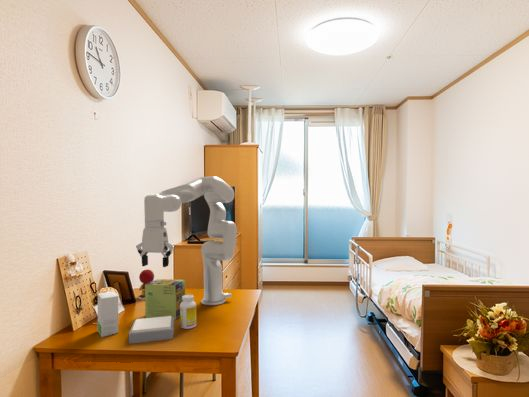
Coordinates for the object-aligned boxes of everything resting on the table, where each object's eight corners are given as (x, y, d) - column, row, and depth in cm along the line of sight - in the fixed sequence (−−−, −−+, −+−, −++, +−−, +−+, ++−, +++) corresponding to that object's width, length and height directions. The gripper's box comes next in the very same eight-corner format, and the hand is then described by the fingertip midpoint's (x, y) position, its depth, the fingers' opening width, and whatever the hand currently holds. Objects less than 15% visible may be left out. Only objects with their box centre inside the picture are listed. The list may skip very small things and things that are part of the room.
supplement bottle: (199, 324, 143) (198, 294, 142) (191, 330, 136) (190, 299, 136) (186, 322, 145) (185, 293, 145) (177, 328, 138) (176, 297, 138)
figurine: (158, 294, 187) (157, 268, 187) (148, 300, 177) (147, 272, 177) (144, 294, 189) (144, 267, 189) (134, 299, 179) (133, 271, 179)
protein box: (176, 320, 148) (175, 285, 148) (144, 318, 151) (144, 284, 151) (186, 312, 158) (185, 279, 158) (156, 310, 161) (156, 278, 161)
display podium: (174, 325, 142) (173, 314, 142) (173, 338, 128) (172, 327, 128) (134, 329, 138) (134, 318, 138) (128, 343, 125) (128, 331, 125)
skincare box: (97, 331, 137) (96, 293, 137) (114, 326, 141) (113, 290, 141) (101, 337, 131) (100, 298, 130) (119, 333, 135) (118, 294, 134)
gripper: (177, 224, 139) (178, 265, 139) (141, 224, 143) (142, 263, 144) (168, 225, 132) (169, 268, 132) (130, 225, 136) (131, 267, 136)
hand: (155, 266), depth 138 cm, fingers open, 9 cm apart
